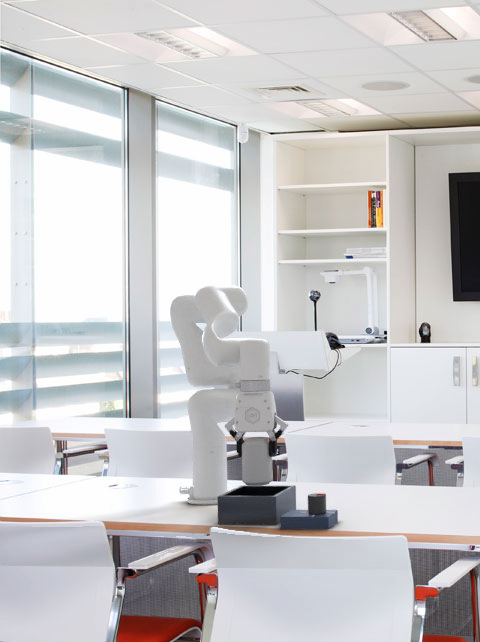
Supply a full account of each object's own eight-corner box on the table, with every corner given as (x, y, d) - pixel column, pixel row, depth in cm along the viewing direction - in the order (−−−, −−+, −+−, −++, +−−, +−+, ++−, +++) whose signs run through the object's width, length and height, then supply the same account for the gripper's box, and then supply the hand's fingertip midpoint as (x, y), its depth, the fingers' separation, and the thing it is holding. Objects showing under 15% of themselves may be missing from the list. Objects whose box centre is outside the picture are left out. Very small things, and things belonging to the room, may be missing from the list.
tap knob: (305, 514, 242) (305, 495, 241) (310, 511, 246) (310, 492, 246) (323, 514, 241) (323, 495, 241) (328, 511, 245) (327, 492, 245)
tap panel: (280, 529, 240) (279, 515, 240) (291, 521, 249) (290, 509, 249) (329, 529, 239) (329, 516, 239) (339, 521, 248) (338, 509, 247)
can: (277, 482, 257) (277, 436, 256) (262, 486, 249) (261, 439, 249) (252, 481, 259) (251, 435, 259) (236, 485, 252) (235, 438, 252)
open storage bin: (217, 524, 247) (217, 496, 247) (241, 511, 264) (240, 485, 264) (276, 524, 245) (275, 496, 245) (296, 511, 262) (295, 485, 262)
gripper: (217, 388, 251) (218, 458, 251) (284, 387, 249) (285, 457, 249) (227, 386, 259) (229, 454, 259) (292, 385, 257) (294, 454, 257)
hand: (257, 455), depth 254 cm, fingers closed on can, 7 cm apart
